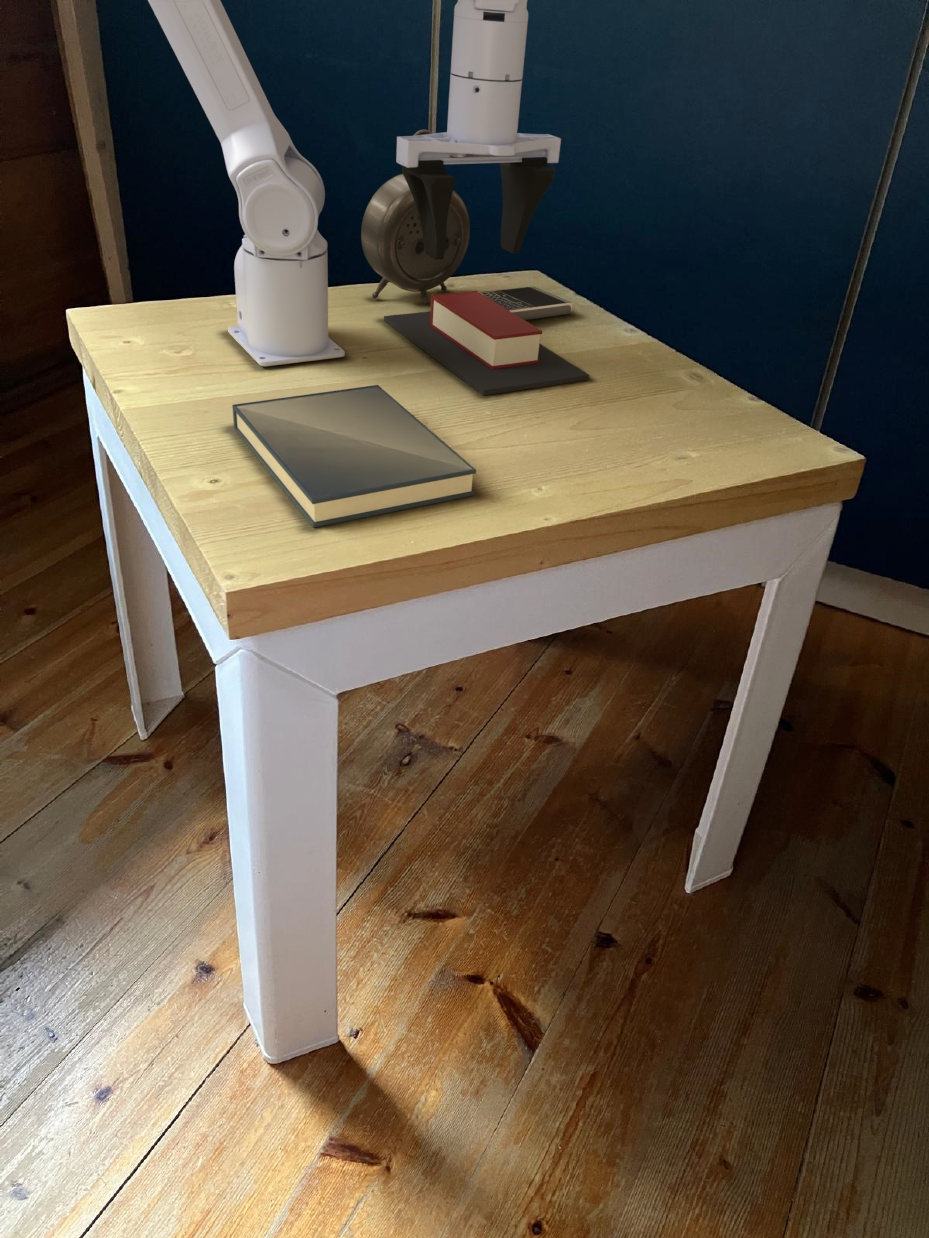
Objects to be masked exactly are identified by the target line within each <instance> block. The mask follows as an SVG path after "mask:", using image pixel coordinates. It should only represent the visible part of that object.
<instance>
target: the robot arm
mask: <svg viewBox="0 0 929 1238" xmlns="http://www.w3.org/2000/svg"><path fill="white" fill-rule="evenodd" d="M147 2H148V4H149V6H150V7H151V9H152V11H153V13H154V16H155V17H156V19H157V21H158V23H159V25H160V27H161V29H162V31H163V33H164V35H165V37H166V39H167V41H168V42H169V44H170V47H171V49H172V50H173V52H174V55H175V56H176V58H177V60H178V62H179V65H180V66H181V68H182V70H183V72H184V74H185V76H186V78H187V80H188V82H189V84H190V86H191V88H192V89H193V92H194V93H195V96H196V98H197V99H198V101H199V103H200V105H201V107H202V109H203V111H204V113H205V115H206V118H207V119H208V121H209V123H210V125H211V127H212V129H213V131H214V133H215V136H216V137H217V139H218V140H219V143H220V146H221V149H222V153H223V158H224V163H225V168H226V171H227V175H228V177H229V180H230V181H231V184H232V186H233V187H234V190H235V192H236V195H237V199H238V217H239V222H240V225H241V228H242V230H243V232H244V235H243V238H242V239H241V246H240V247H239V249H238V250H237V252H236V255H235V259H234V265H233V271H234V283H235V284H234V286H235V301H236V318H237V325H235V326H229V327H227V332H228V334H229V335H230V336H231V337H232V338H233V339H234V340H235V341H236V342H237V344H239V345H240V346H241V348H243V349H244V351H245V352H246V353H247V354H248V355H249V356H250V357H251V358H252V359H253V360H254V361H255V362H257V364H258V365H259V366H261V367H271V366H273V367H274V366H279V365H289V364H298V363H304V362H305V363H306V362H313V361H322V360H329V359H336V358H337V359H338V358H343V357H345V356H346V351H345V350H344V349H343V348H341V346H339V345H338V344H337V343H336V342H335V341H334V340H332V338H330V337H329V280H328V279H329V274H328V273H329V271H328V270H329V267H328V265H329V264H328V261H329V260H328V259H329V257H328V241H327V240H326V239H325V238H324V237H323V236H322V234H321V233H320V231H319V230H318V226H319V216H320V214H321V212H322V210H323V208H324V205H325V200H326V190H325V185H324V181H323V178H322V177H321V174H320V173H319V171H318V170H317V168H316V167H315V166H314V165H313V164H312V163H311V162H310V161H309V160H307V158H305V157H304V156H302V154H301V153H300V152H299V151H298V149H297V148H296V146H295V145H294V143H293V141H292V139H291V137H290V134H289V132H288V131H287V129H285V127H284V126H283V124H282V122H280V120H279V119H278V118H277V116H276V114H275V113H274V110H273V109H272V107H271V104H270V102H269V100H268V99H267V95H266V94H265V91H264V90H263V88H262V86H261V83H260V81H259V79H258V77H257V75H256V73H255V71H254V69H253V67H252V64H251V62H250V60H249V58H248V56H247V54H246V52H245V49H244V47H243V46H242V43H241V41H240V39H239V37H238V35H237V33H236V30H235V28H234V26H233V24H232V22H231V19H230V17H229V16H228V13H227V11H226V9H225V7H224V5H223V3H222V1H221V0H147ZM527 6H528V0H457V2H456V4H455V5H454V9H453V24H452V25H453V28H452V42H451V43H452V44H451V61H450V75H449V92H448V108H447V109H448V110H447V129H446V131H445V132H436V133H433V134H426V133H425V134H420V135H417V136H413V135H405V136H396V156H395V157H396V158H395V159H396V161H395V162H396V164H398V165H400V166H401V172H402V173H401V174H403V175H404V177H405V179H406V182H407V184H408V186H409V189H410V191H411V194H412V196H413V199H414V202H415V205H416V208H417V211H418V215H419V219H420V223H421V228H422V233H423V239H424V246H425V254H427V255H429V256H430V257H432V258H434V259H436V260H439V259H443V257H444V252H445V246H446V228H447V217H448V211H449V206H450V201H451V197H452V193H453V190H454V189H455V186H456V182H457V179H456V178H455V176H452V175H450V174H448V173H447V171H448V169H447V168H444V165H468V164H469V165H470V164H474V165H475V164H499V167H500V174H501V186H502V212H501V224H500V225H501V226H500V248H501V249H502V250H505V251H507V252H509V253H511V254H514V255H515V254H519V253H520V252H521V251H520V250H521V248H522V244H523V242H524V239H525V235H526V233H527V230H528V227H529V225H530V223H531V220H532V218H533V216H534V214H535V211H536V209H537V208H538V205H539V204H540V202H541V201H542V198H543V196H544V195H545V194H546V192H547V190H548V189H549V188H550V186H551V185H552V183H554V179H555V173H556V172H555V171H556V169H555V168H554V167H552V166H550V165H548V164H558V163H559V160H560V152H561V143H562V138H561V137H559V136H555V135H552V134H549V133H546V134H545V133H521V132H518V129H519V128H518V127H519V118H520V106H521V105H520V104H521V96H522V86H523V77H524V66H525V56H526V45H527V36H528V35H527V33H528V24H529V23H528V22H529V11H528V9H527Z"/></svg>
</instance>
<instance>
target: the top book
mask: <svg viewBox="0 0 929 1238" xmlns="http://www.w3.org/2000/svg"><path fill="white" fill-rule="evenodd" d="M430 326H431V327H432V328H434V329H435V330H436V331H438V332H439V333H441V334H442V335H443V336H445V337H446V338H448V339H449V340H451V341H452V342H453V343H455V344H456V345H458V346H459V347H461V348H462V349H463V350H465V351H466V352H468V353H469V354H470V355H472V356H473V357H475V358H476V359H478V360H479V361H480V362H482V363H483V364H485V365H486V366H487V367H489V368H490V369H499V368H506V367H514V366H521V365H528V364H535V363H539V360H538V352H539V344H541V343H540V342H541V335H543V330H542V329H540V328H538V327H537V326H535V325H534V324H532V323H530V322H529V321H527V320H524V319H522V318H520V317H519V316H517V315H515V314H514V313H512V312H510V311H509V310H507V309H505V308H504V307H502V306H501V305H499V304H497V303H496V302H494V301H492V300H491V299H489V298H487V297H486V296H484V295H482V294H481V293H479V291H477V290H470V291H469V290H468V291H460V292H459V291H458V292H449V293H448V292H447V293H438V294H431V295H430Z"/></svg>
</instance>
